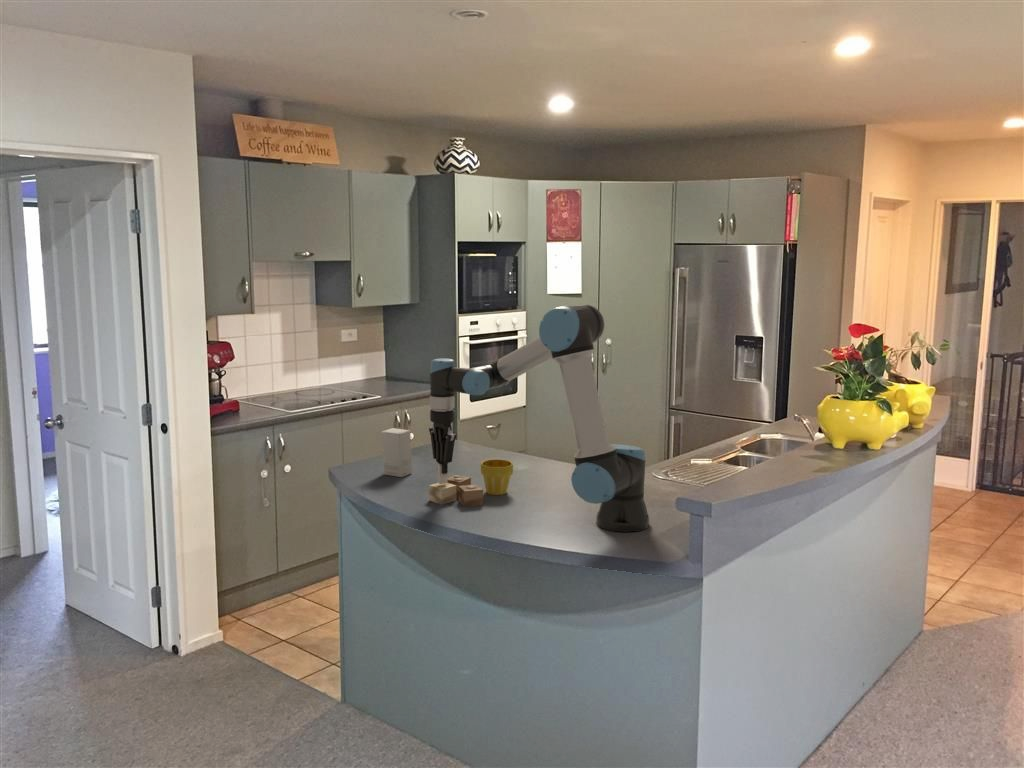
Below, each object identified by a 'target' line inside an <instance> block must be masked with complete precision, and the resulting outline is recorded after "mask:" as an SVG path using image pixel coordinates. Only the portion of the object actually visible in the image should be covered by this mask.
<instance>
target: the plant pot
mask: <svg viewBox="0 0 1024 768" xmlns="http://www.w3.org/2000/svg"><path fill="white" fill-rule="evenodd" d="M480 473H481V475H483V477H482V478H483V482H484V486H485V492H486V493H487V494H488V495H491V496H503V495H505V494H507V492H508V489H509V484H510V479H511V476H512V475H513V473H514V462H512V461H511V460H508V459H507V460H506V459H502V458H501V459H500V458H495V459H493V458H492V459H487V460H483V461H481V463H480Z"/></svg>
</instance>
